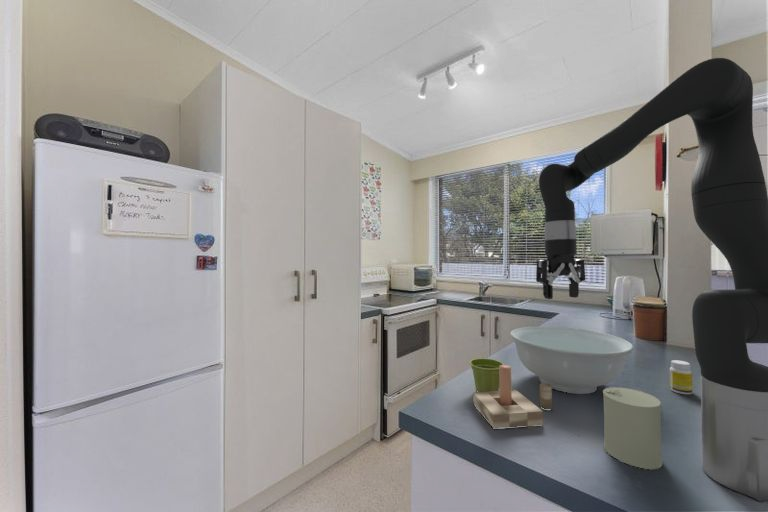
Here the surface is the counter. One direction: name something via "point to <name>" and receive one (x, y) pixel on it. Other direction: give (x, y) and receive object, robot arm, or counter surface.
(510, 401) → the long dowel
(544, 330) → the bowl
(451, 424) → the counter surface
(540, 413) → the socket block
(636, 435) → the can
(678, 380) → the supplement bottle
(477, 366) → the plant pot
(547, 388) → the short dowel
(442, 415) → the counter surface
